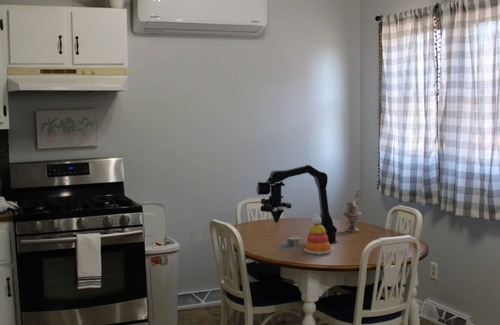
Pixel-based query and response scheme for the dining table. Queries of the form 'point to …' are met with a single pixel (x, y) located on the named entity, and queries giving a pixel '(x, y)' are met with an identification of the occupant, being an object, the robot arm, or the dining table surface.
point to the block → (295, 241)
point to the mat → (287, 246)
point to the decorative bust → (352, 213)
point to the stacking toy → (317, 238)
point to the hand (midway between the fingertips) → (276, 222)
